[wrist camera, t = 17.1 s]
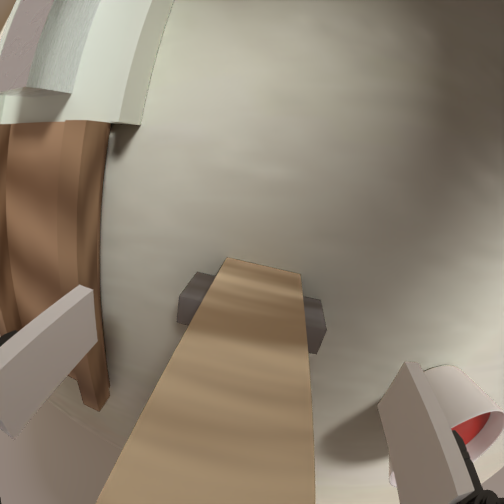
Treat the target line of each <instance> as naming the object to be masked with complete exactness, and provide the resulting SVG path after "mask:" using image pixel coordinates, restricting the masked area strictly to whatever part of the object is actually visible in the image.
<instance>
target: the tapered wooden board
mask: <svg viewBox="0 0 504 504" xmlns="http://www.w3.org/2000/svg"><path fill="white" fill-rule="evenodd" d="M177 322H178V323H182V324H185V325H189V326H188V328H187V330H186V331H185V333H184V335H183V337H182V339H181V340H180V342H179V344H178V346H177V348H176V350H175V351H174V353H173V355H172V357H171V359H170V361H169V363H168V364H167V366H166V368H165V370H164V372H163V374H162V376H161V377H160V379H159V381H158V383H157V385H156V387H155V389H154V390H153V392H152V394H151V396H150V398H149V400H148V402H147V404H146V406H145V407H144V409H143V411H142V413H141V415H140V417H139V419H138V421H137V423H136V425H135V427H134V428H133V430H132V432H131V434H130V436H129V438H128V440H127V442H126V444H125V446H124V448H123V450H122V452H121V454H120V456H119V458H118V460H117V461H116V463H115V466H114V468H113V469H112V471H111V473H110V475H109V477H108V479H107V481H106V483H105V485H104V487H103V489H102V491H101V493H100V495H99V497H98V499H97V501H96V504H315V458H314V433H313V413H312V396H311V382H310V368H309V355H308V353H313V354H317V352H318V350H319V348H320V345H321V343H322V340H323V338H324V335H325V333H326V330H327V329H326V324H325V319H324V315H323V310H322V305H321V300H317V299H313V298H308V297H303V292H302V283H301V274H298V273H293V272H289V271H285V270H280V269H276V268H271V267H267V266H263V265H258V264H254V263H250V262H245V261H241V260H237V259H232V258H228V257H227V258H226V260H225V262H224V263H223V265H222V267H221V269H220V270H219V272H218V274H217V276H212V275H208V274H204V273H200V272H197V273H196V274H195V275H194V277H193V278H192V279H191V281H190V282H189V283H188V285H187V286H186V288H185V289H184V290H183V292H182V293H181V294H180V296H179V304H178V315H177Z"/></svg>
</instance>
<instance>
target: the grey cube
mask: <svg viewBox="0 0 504 504" xmlns="http://www.w3.org/2000/svg"><path fill="white" fill-rule="evenodd" d="M100 2H101V0H21V2H20V4H19V6H18V9H17V11H16V13H15V16H14V18H13V21H12V23H11V26H10V29H9V31H8V33H10V32H12V31H14V30H16V29H18V28H21V27H23V26H25V25H28V24H30V23H33V22H35V21H38V20H41V19H43V18H46V17H49V18H51V19H53V20H56V21H58V22H61V23H63V24H65V25H68V26H70V27H72V28H74V29H77V30H79V31H81V32H83V33H85V34H87V35H88V33H89V31H90V28H91V25H92V22H93V19H94V17H95V14H96V11H97V9H98V6H99V4H100Z"/></svg>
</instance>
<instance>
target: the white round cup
mask: <svg viewBox="0 0 504 504" xmlns="http://www.w3.org/2000/svg"><path fill="white" fill-rule="evenodd" d="M424 374H425V376H426V378H427V379H428V381H429V383H430V385H431V387H432V389H433V392H434V394H435V396H436V398H437V400H438V402H439V404H440V406H441V408H442V410H443V413H444V415H445V417H446V419H447V421H448V424H449V426H450V428H451V430H455V431H456V432H457V433H458V434H459V435H460V436H461V438H462V439H463V441H464V443H465V445H466V448H467V451H468V452H469V455H470V460H472V462H474V461H475V460H476V459H478V458H479V457H480V456H481V455H482V454H484V453H485V452H486V451H487V450H488V449H489V448H490V447H491V446H492V445H493V444H494V442H495V441H496V440H497V439H498V437H499V436H500V435H501V433H502V431H503V430H504V411H503V410H502V408H501V407H500V406H499V405H498V404H497V403H496V402H495V401H494V400H493V399H492V398H491V397H490V396H489V395H488V394H487V393H486V392H484V391H483V390H482V389H481V388H480V387H479V386H478V385H477V384H476V383H475V382H474V381H473V380H472V379H471V378H470V377H469V376H468V375H467V374H466V373H464V372H463V371H462V370H461V369H459V368H458V367H455V366H451V365H443V366H438V367H434V368H431V369H429V370H426V371H424ZM389 482H390V484H391V485H392V486H394V487H396V488H397V485H396V480H395V475H394V471H393V466H392V462H391V458H390V454H389Z"/></svg>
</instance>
